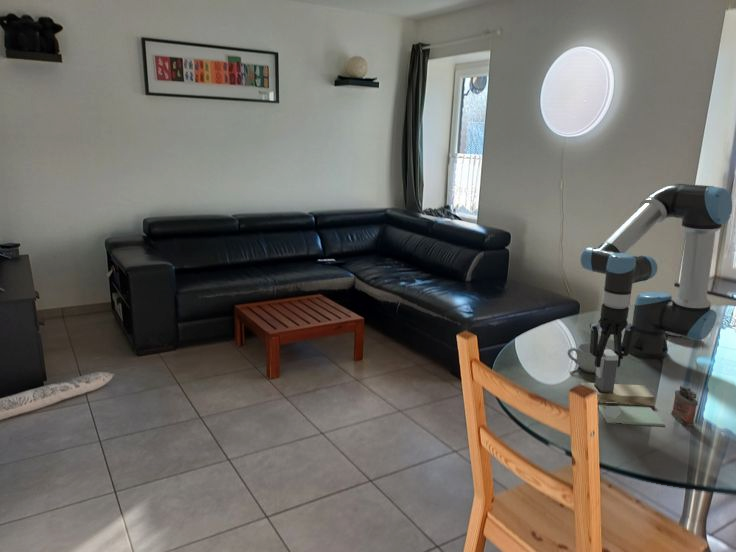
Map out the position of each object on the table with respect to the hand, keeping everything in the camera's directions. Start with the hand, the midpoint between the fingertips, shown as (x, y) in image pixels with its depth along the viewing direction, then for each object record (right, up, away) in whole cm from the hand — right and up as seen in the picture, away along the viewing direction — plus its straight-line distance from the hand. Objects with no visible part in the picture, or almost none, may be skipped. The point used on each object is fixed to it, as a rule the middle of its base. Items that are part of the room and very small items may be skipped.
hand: (605, 375), depth 171 cm
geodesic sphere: (+54, +7, +58) cm, 79 cm away
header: (+4, -7, +2) cm, 8 cm away
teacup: (+3, -2, +23) cm, 23 cm away
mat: (+3, -10, -9) cm, 14 cm away
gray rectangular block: (0, -4, +1) cm, 4 cm away
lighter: (+18, -11, -11) cm, 24 cm away
